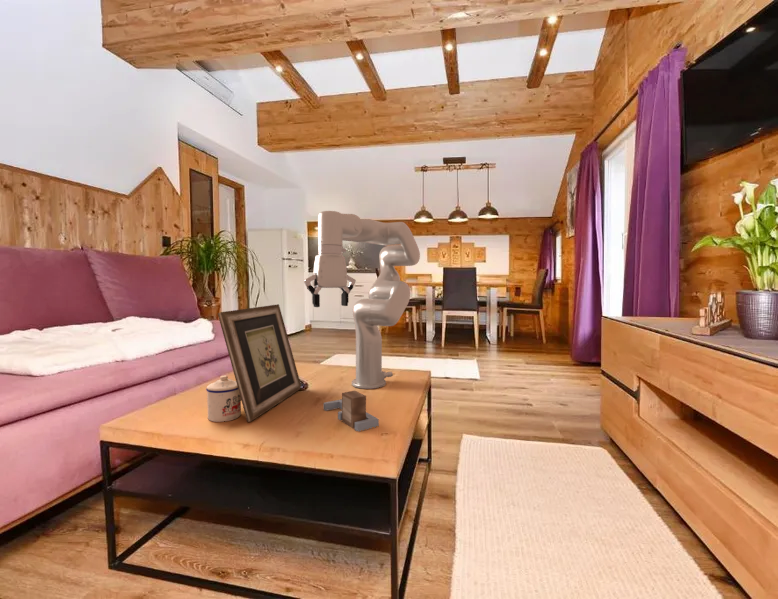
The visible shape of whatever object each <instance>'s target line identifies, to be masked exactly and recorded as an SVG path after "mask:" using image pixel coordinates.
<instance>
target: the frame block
mask: <svg viewBox="0 0 778 599" xmlns="http://www.w3.org/2000/svg"><path fill="white" fill-rule="evenodd" d="M341 399H342V409H341V411H342V420H341V422H342V423H343V424H345V425H347V426H348V427H349V428H351V429H355V422H358V421H362V420H366V412H367V395H365V394H363V393H361V392H359V391H357V390H351V391H346V392H341Z"/></svg>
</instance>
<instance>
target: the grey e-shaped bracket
mask: <svg viewBox="0 0 778 599" xmlns="http://www.w3.org/2000/svg"><path fill="white" fill-rule="evenodd" d="M336 409H340V410H341V411H338V412H337V420H339V421H342V398H341V399H335V400H331V401H330V400H329V401H326V402H323V410H324V411H332V410H336ZM379 421H380V420H379V418H377V417H376V416H374V415H373V414H370V413H369V412H367V411H366V420H362V421H358V422H355V428H354V431H356V432H357V431H358V432H362V431H366V430H370V429H373V428H372V427H374V428H377V427H376V426H378V427H379V425H380V424H379V423H380V422H379ZM369 428H370V429H369ZM365 429H366V430H365ZM361 430H362V431H361Z"/></svg>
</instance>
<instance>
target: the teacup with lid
mask: <svg viewBox="0 0 778 599" xmlns="http://www.w3.org/2000/svg"><path fill="white" fill-rule="evenodd" d="M228 377H229V376H228V375H220V377H219V379H217V380H216V381H214V382H212V383H209V384H208V385H207V386H206V389H205V390H206V392H207V394H206V396H207V401H206V402H207V419H208V420H209V421H210V422H214V423H223V422H224V421H225V422H229V421H234V420H237V419H238V418H239V417H241V414H242V401H241V397H240V394H239V390H238V386H237V383H236V380H234V379H231V378H228Z"/></svg>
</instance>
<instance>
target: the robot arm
mask: <svg viewBox="0 0 778 599" xmlns="http://www.w3.org/2000/svg"><path fill="white" fill-rule="evenodd" d="M317 241H318V242H317V246H318V247H317V248H318V252H317V253H318V254H317V255H315V257H314V263H313V273H312V275H310V276H309V277H307V278H305V279H303V283H304V285H305V286H306V289H307V290H308V291H309V292H310V294H311V295H312V299H311V300H312V305H313V307H314V308H320V305H321V303H320V302H321V299H320V298H321V296H320V294H319V293H320V291H321V290H322V289H323V288H324V289H334V288H335V289H338V288H339V289H340V290H341V292H342V293H341V294H340V295H341V296H340V299H341V302H340V303H341V304H340V305H341V306H343V307H348V305H349V294H350V293H351V291H352V290H353V288H354V286H355V284H356V282H357V281H356V279H355V278H353V277H351V276H350V275H349V274H348V272H347V271H348V269H347V264H346V262H347V261H346V257H345V256H343V255H344V254H346V252H347V249H346V248H344V246H343V244H344V243H343V242H353V243H361V244H362V243H365V244H366V243H367V244H373V245H379V246H384V247H382V248H381V250H380V251H379V255H378V256H379V257H378V258H379V259H378V261H379V268H380V273H379V275H378V277H377V278H376V279H375V282H374V283H373V284H372V286H371V287H370V290H369V291H368V298H361V299H358V300H357V301H356V302H355V303H354V304H353V306H352V317H353V321H354V327H355V328H354V329H355V378H354V379H352V380H351V386H352V387H354V388H357V389H364V390H365V389H366V390H367V389H369V390H370V389H379V387H380V388H383V387H384V386H386V384H387V381H386V378H391V377H393V375H394V373H393V371H387V372H386V371H383V370H382V369H383V368H382V362H383V361H382V360H383V359H382V358H383V357H382V356H383V352H382V350H383V349H382V348H383V346H382V345H383V344H382V343H383V340H382V339H383V336H382V334H381V331H380V329H379V326H381V327H394V326H395V325H397V323H398V322H399V320H400V319H401V317H402V315H403V314H404V312H405V310H406V308H407V306H408V305H409V302H410V299H411V289H410V286H409V284H408V283H406V282H405V281H402V280H401V276H400V274H399V272H398V271H397V270H396V268H395V267H412V266H416V265H417V264H418V263H419V262H420V259H421V252H420V250H419V249H420V248H419V246H418V244H417V241H416V239H415V237H414V234H413V232H412V231H411V229H410V227H409V226H408V225H407V224H406V223H405V222H403V221H396V222H395V221H394V222H384V221H383V222H382V221H378V220H375V219H372V218H361V217H359V216H358V215H356V214H353V213H341V212H340V211H335V210H323V211H321V212H319V213H318V215H317ZM348 282H349V284H348ZM311 283H312V284H311ZM312 285H313V286H312Z"/></svg>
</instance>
